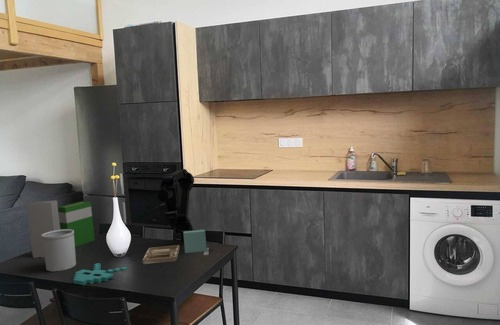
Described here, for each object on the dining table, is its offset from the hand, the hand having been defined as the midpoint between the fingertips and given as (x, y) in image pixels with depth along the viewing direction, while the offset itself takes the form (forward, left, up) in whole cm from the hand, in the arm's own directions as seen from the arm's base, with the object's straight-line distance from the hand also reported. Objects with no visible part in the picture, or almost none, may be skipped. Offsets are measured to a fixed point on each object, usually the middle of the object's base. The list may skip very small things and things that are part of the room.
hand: (173, 227), depth 223 cm
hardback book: (-33, -61, -13) cm, 71 cm away
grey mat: (+7, +11, -13) cm, 18 cm away
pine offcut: (+16, -5, -9) cm, 19 cm away
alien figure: (+28, -34, -14) cm, 46 cm away
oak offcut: (+16, -6, -12) cm, 21 cm away
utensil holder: (+9, -56, -13) cm, 58 cm away
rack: (+10, -6, -13) cm, 17 cm away
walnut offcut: (+16, -6, -10) cm, 20 cm away
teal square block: (+7, +11, -12) cm, 18 cm away
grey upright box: (-13, -71, -13) cm, 73 cm away
